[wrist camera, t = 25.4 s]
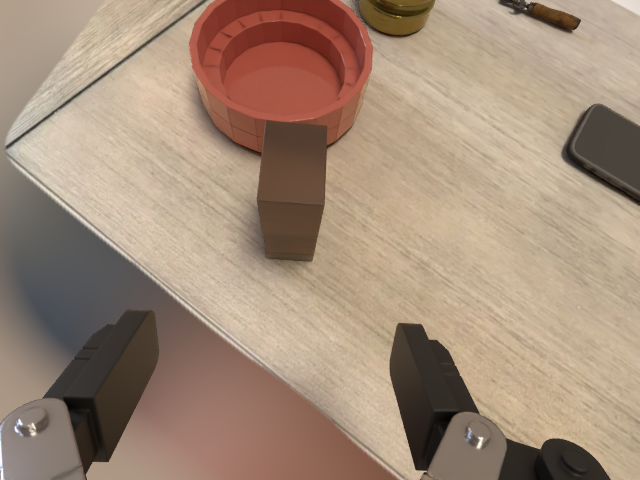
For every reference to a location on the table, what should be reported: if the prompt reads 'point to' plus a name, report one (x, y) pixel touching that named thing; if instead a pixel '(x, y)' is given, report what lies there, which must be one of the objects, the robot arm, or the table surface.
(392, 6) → the brass weight
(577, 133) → the smartphone
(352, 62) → the bowl
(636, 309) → the table surface
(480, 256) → the table surface
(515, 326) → the table surface
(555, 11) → the can opener
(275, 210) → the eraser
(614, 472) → the table surface
